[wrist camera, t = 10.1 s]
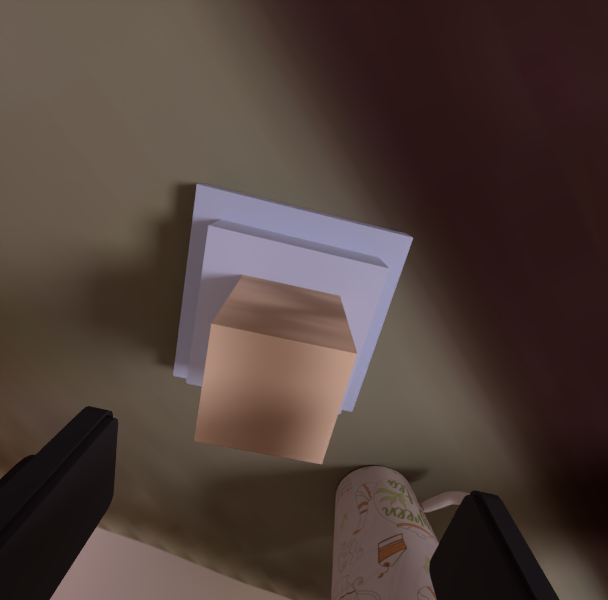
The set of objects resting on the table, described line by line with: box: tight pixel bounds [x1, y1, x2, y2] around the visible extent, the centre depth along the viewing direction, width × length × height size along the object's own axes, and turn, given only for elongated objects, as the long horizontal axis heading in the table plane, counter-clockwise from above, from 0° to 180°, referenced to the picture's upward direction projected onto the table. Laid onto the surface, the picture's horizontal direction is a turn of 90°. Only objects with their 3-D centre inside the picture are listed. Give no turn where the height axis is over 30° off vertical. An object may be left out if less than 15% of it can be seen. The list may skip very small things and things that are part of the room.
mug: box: [331, 466, 470, 600], centre depth 22 cm, size 8×13×10 cm, turn 117°
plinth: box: [173, 184, 413, 414], centre depth 20 cm, size 12×12×4 cm
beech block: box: [194, 275, 357, 464], centre depth 15 cm, size 5×5×6 cm
